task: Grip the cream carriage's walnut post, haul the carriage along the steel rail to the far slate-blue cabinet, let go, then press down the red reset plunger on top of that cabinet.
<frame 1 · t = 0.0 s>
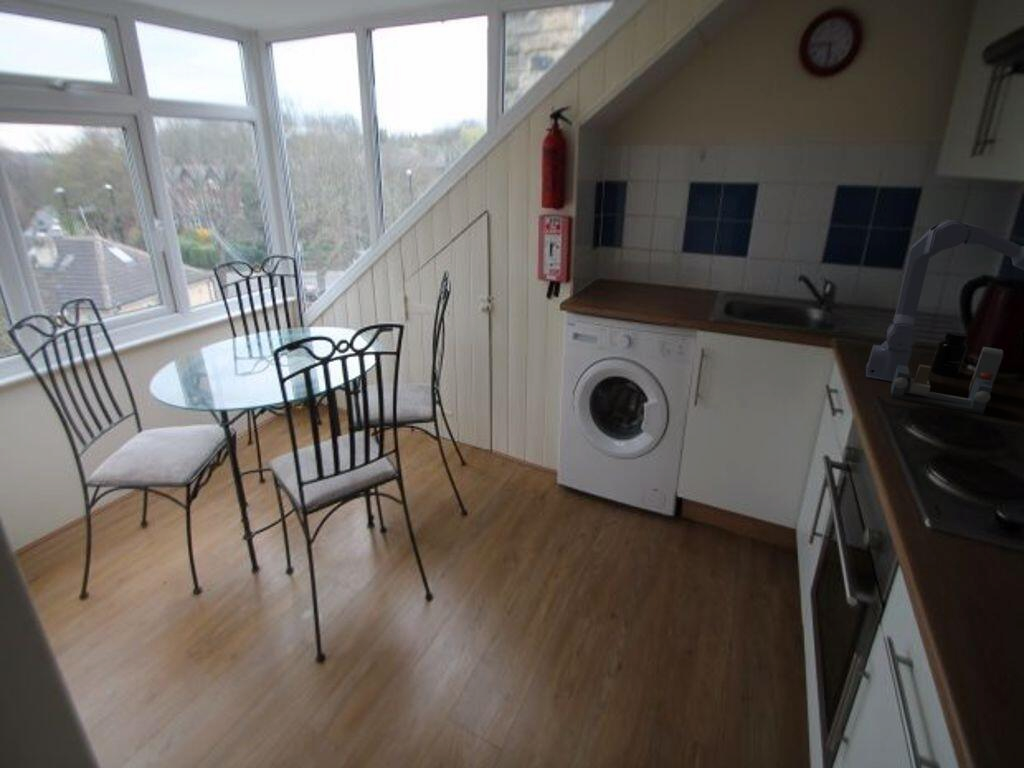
supplement bottle: (943, 373, 159), on the worktop
carriage: (921, 379, 140), point 5 cm above the worktop, slide at -4.0 cm
skincare box: (977, 393, 145), on the worktop
rail stand: (934, 400, 140), on the worktop
reset plunger: (986, 376, 133), point 9 cm above the worktop, slide at 0.0 cm
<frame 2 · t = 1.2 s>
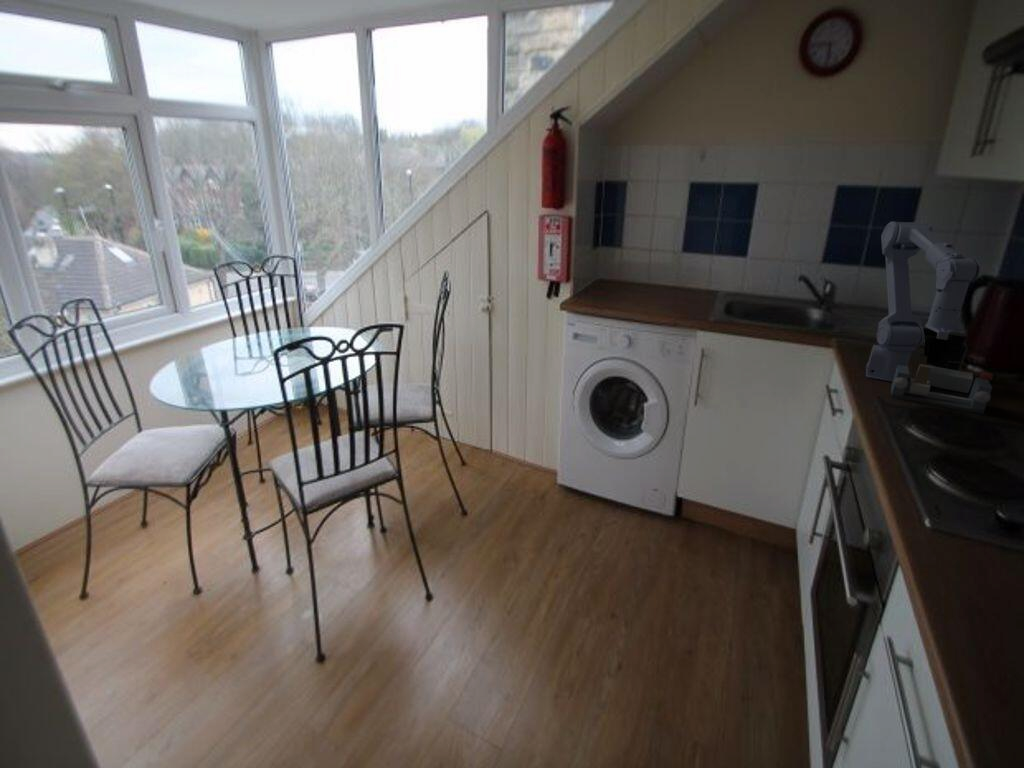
hand: (930, 360, 138), 10 cm above the worktop, tool pointing down, fingers open, 7 cm apart
skincare box: (971, 383, 146), point 2 cm above the worktop
everything else where it was.
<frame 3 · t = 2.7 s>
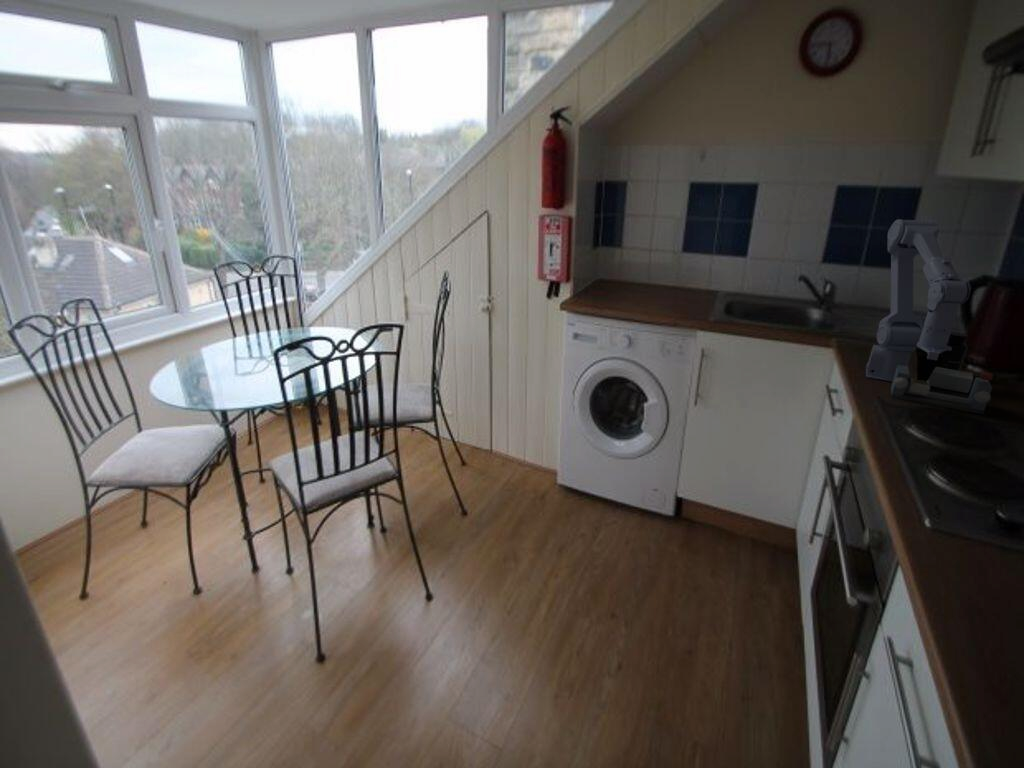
hand: (921, 378, 140), 5 cm above the worktop, tool pointing down, fingers closed on carriage, 2 cm apart
carriage: (921, 379, 140), point 5 cm above the worktop, slide at -4.0 cm, touching gripper
everything else where it was.
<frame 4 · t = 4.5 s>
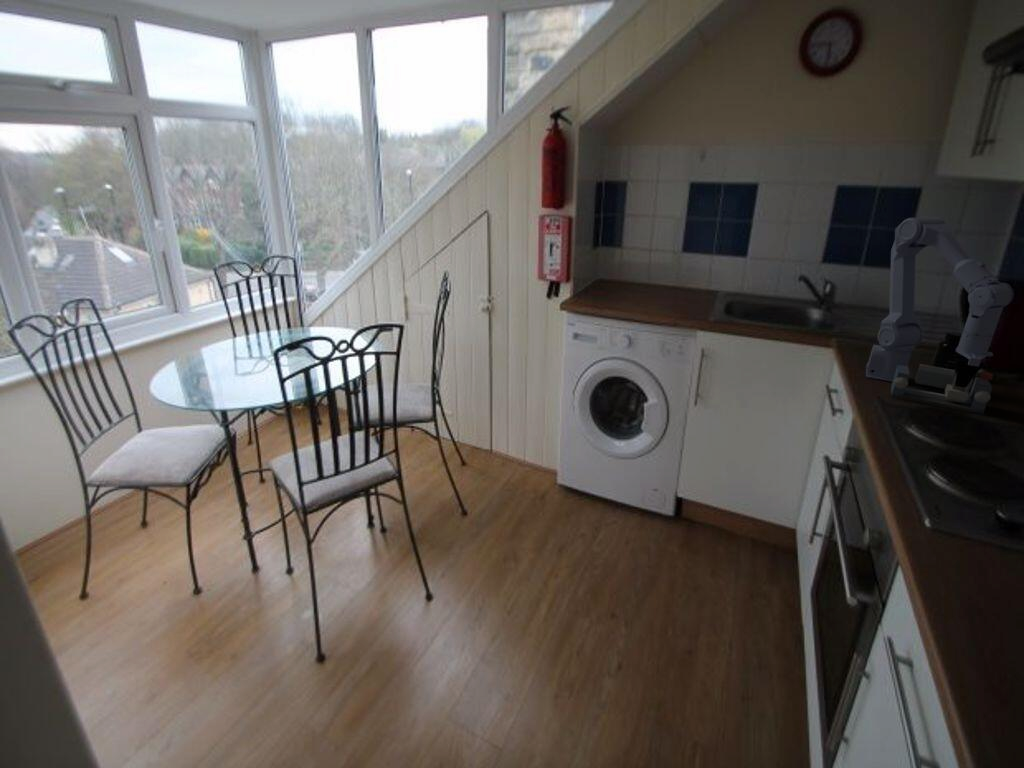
hand: (960, 384, 136), 5 cm above the worktop, tool pointing down, fingers closed on carriage, 2 cm apart
carriage: (958, 385, 136), point 5 cm above the worktop, slide at 3.9 cm, touching gripper
everything else where it was.
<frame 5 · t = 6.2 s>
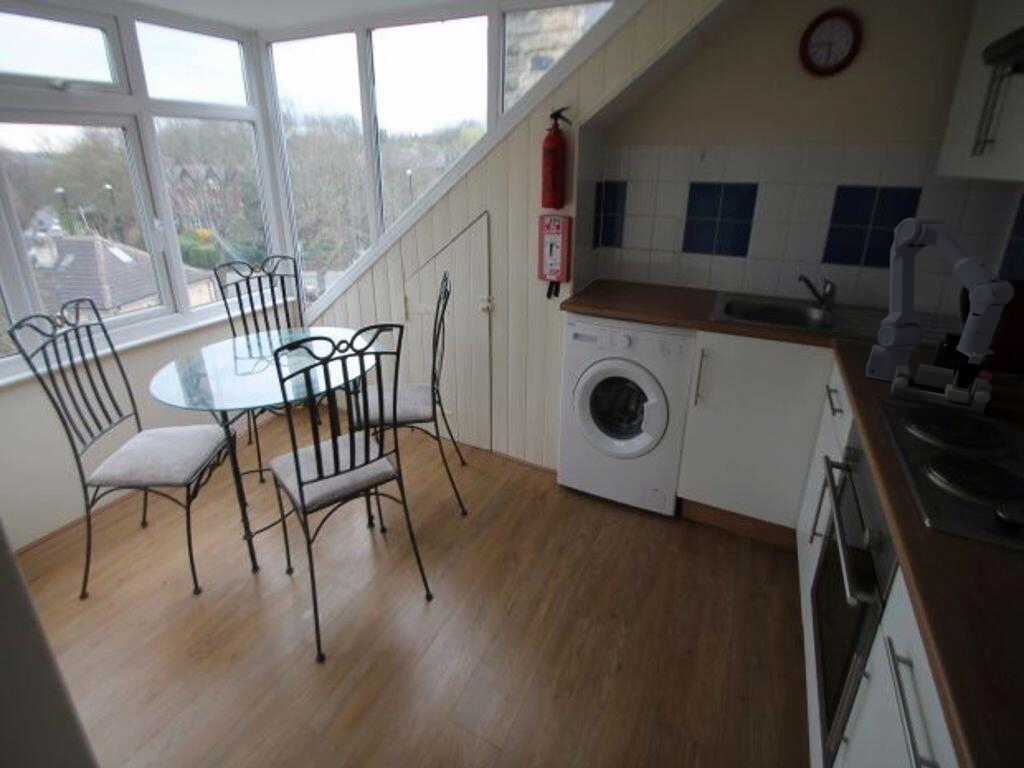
hand: (960, 382, 136), 6 cm above the worktop, tool pointing down, fingers open, 7 cm apart
carriage: (958, 385, 136), point 5 cm above the worktop, slide at 3.9 cm
everything else where it was.
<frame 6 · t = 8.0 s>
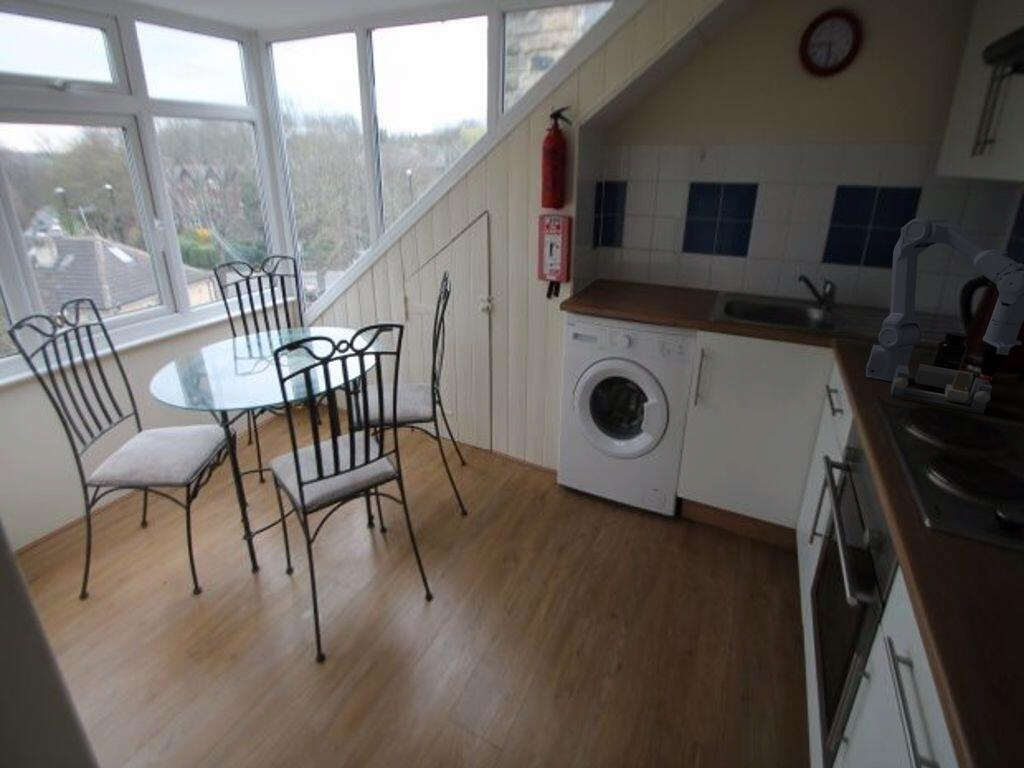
hand: (986, 374, 133), 9 cm above the worktop, tool pointing down, fingers closed, pressing on reset plunger
reset plunger: (985, 376, 133), point 8 cm above the worktop, slide at 0.2 cm, touching gripper
everything else where it was.
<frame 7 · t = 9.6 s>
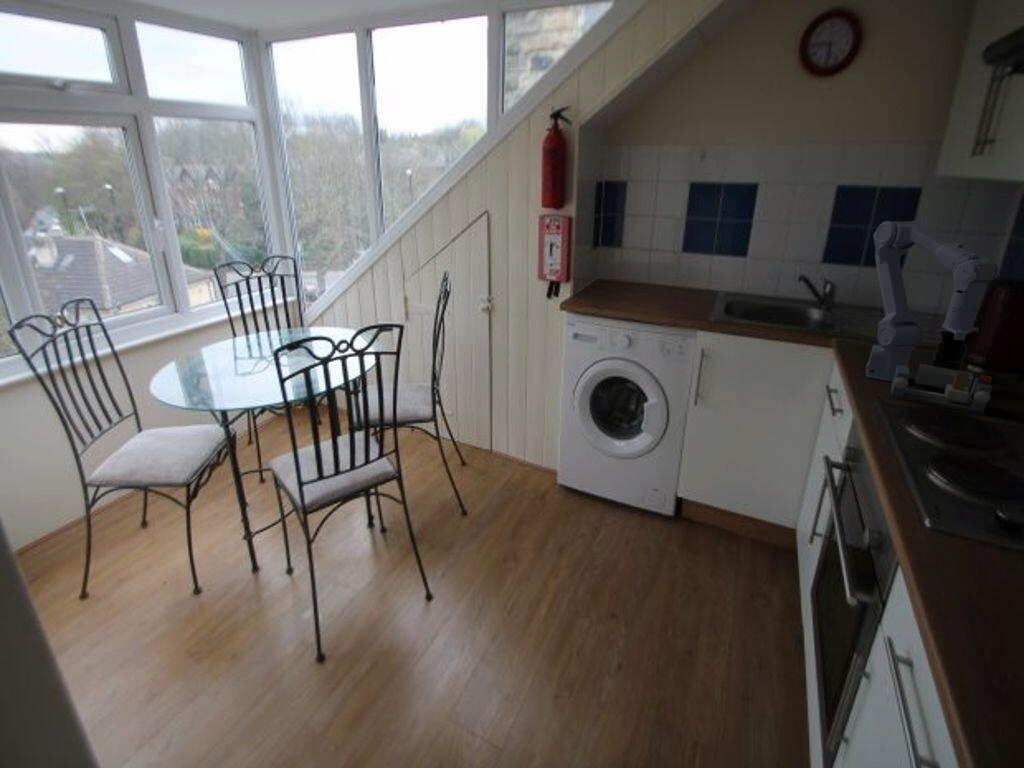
hand: (946, 360, 138), 10 cm above the worktop, tool pointing down, fingers closed
reset plunger: (985, 379, 133), point 8 cm above the worktop, slide at 0.8 cm
everything else where it was.
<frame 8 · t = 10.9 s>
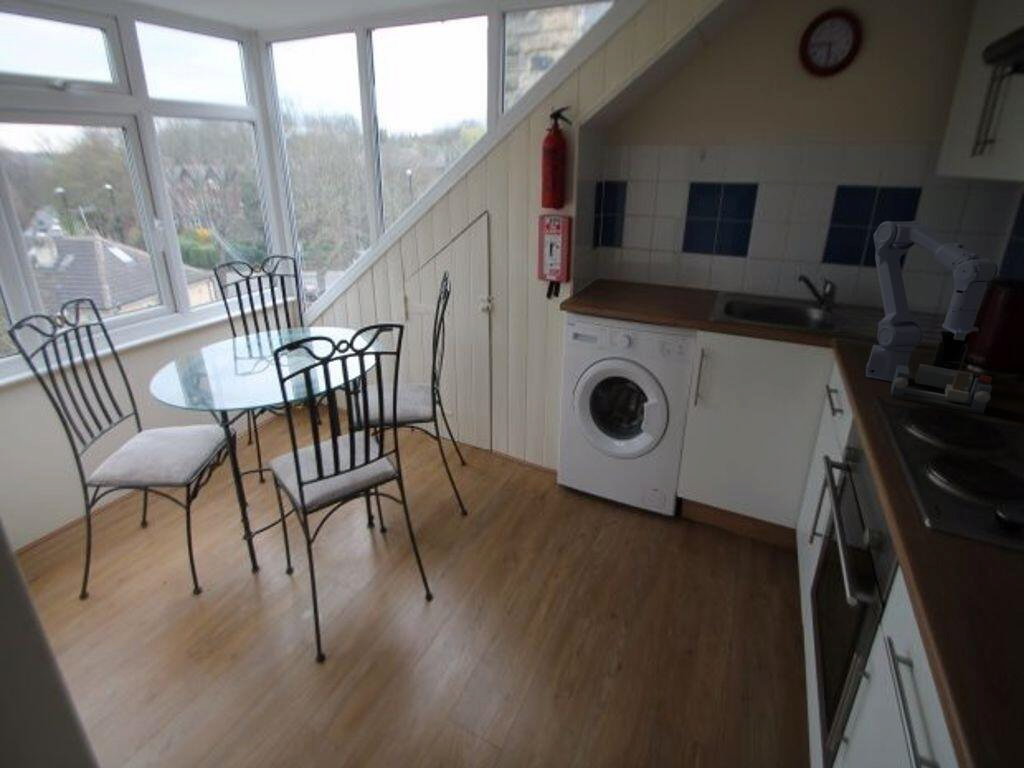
hand: (946, 360, 138), 10 cm above the worktop, tool pointing down, fingers closed
nothing on the worktop moved.
at the end: carriage slide at 3.9 cm; reset plunger slide at 0.8 cm; the gripper is holding nothing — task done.
